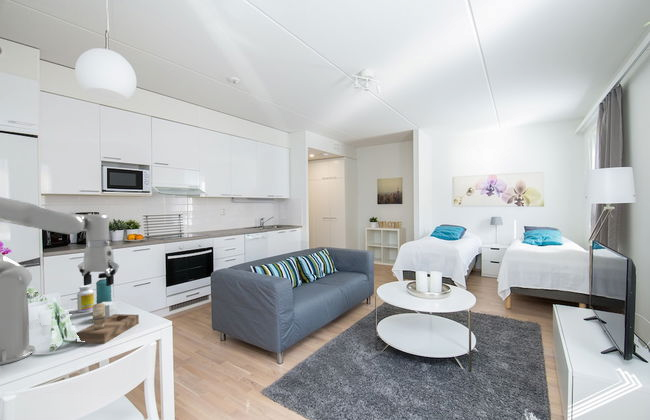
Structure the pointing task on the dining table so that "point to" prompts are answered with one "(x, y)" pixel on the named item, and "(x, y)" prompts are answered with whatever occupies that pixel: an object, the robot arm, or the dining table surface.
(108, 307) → the skincare box
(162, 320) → the dining table surface
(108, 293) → the beverage bottle
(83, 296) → the supplement bottle
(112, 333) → the walnut board
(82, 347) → the dining table surface
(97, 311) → the beech peg
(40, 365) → the dining table surface
